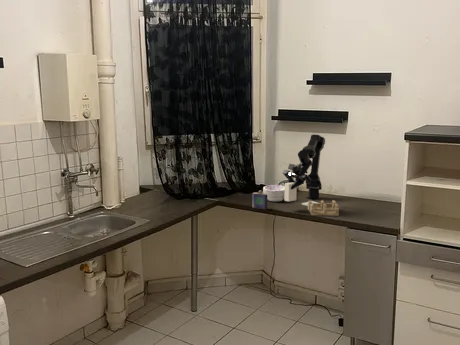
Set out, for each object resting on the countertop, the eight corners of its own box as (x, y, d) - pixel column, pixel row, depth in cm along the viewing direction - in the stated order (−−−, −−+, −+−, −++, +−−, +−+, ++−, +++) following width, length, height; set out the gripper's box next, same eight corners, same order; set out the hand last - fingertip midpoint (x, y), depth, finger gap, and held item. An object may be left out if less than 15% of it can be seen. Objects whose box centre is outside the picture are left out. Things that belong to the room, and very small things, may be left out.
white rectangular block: (284, 200, 271) (284, 183, 269) (292, 198, 275) (292, 181, 273) (288, 201, 268) (288, 184, 266) (296, 200, 272) (296, 183, 270)
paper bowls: (267, 203, 287) (267, 190, 286) (260, 197, 302) (260, 185, 300) (291, 202, 291) (291, 189, 289) (282, 196, 305) (282, 184, 304)
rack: (307, 208, 276) (308, 199, 275) (333, 208, 276) (334, 200, 275) (311, 215, 262) (311, 206, 261) (338, 215, 262) (339, 206, 261)
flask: (251, 207, 278) (251, 190, 275) (253, 206, 280) (253, 189, 278) (266, 209, 274) (266, 191, 272) (268, 208, 276) (268, 190, 274)
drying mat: (301, 204, 285) (301, 203, 285) (311, 201, 291) (311, 200, 291) (316, 208, 276) (316, 207, 276) (326, 205, 282) (326, 204, 282)
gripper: (285, 156, 276) (270, 177, 272) (308, 160, 262) (293, 182, 258) (294, 167, 283) (280, 188, 278) (317, 173, 268) (303, 194, 264)
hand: (288, 188), depth 269 cm, fingers closed on white rectangular block, 3 cm apart
